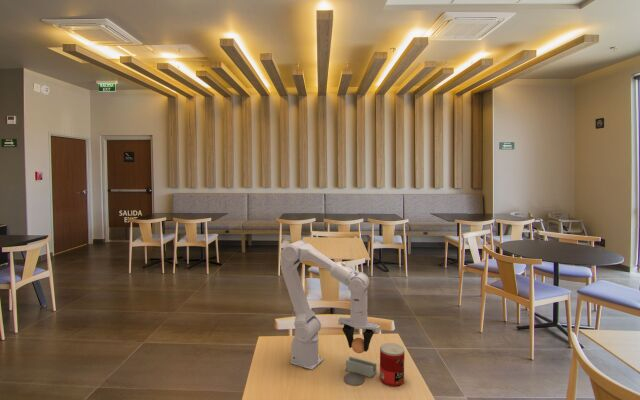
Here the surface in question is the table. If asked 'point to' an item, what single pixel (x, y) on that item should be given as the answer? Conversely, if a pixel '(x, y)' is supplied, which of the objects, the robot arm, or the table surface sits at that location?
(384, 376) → the canned food
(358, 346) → the ball
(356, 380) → the coaster
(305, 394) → the table surface
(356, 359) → the acrylic fence
